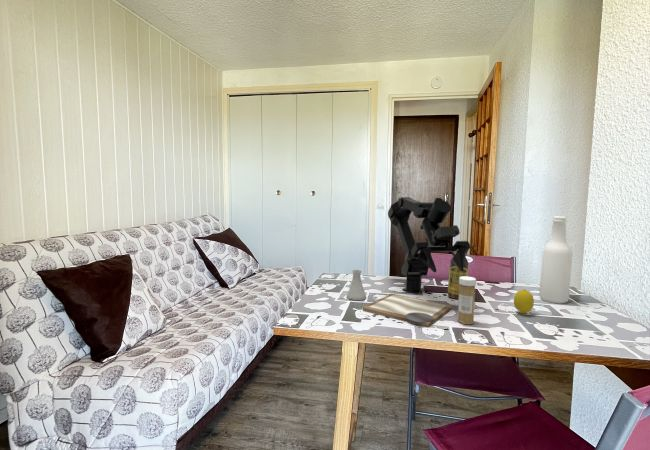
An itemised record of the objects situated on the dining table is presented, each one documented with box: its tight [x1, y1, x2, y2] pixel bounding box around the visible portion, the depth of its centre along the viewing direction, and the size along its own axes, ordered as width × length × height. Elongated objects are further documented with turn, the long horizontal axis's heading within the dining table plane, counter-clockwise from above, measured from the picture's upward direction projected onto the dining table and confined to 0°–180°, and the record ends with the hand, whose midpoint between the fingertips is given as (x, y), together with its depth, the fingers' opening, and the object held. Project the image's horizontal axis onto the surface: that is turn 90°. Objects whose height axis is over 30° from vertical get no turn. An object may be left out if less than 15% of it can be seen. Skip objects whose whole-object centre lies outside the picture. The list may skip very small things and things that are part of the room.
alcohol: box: [539, 215, 573, 305], centre depth 126 cm, size 9×9×30 cm
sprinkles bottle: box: [457, 275, 477, 325], centre depth 105 cm, size 5×5×14 cm
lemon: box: [513, 288, 535, 315], centre depth 113 cm, size 6×6×8 cm
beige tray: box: [362, 293, 453, 328], centre depth 116 cm, size 21×22×1 cm
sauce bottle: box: [447, 253, 469, 300], centre depth 129 cm, size 7×6×20 cm
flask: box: [346, 269, 367, 301], centre depth 128 cm, size 7×7×10 cm
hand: (449, 271), depth 112 cm, fingers open, 9 cm apart
